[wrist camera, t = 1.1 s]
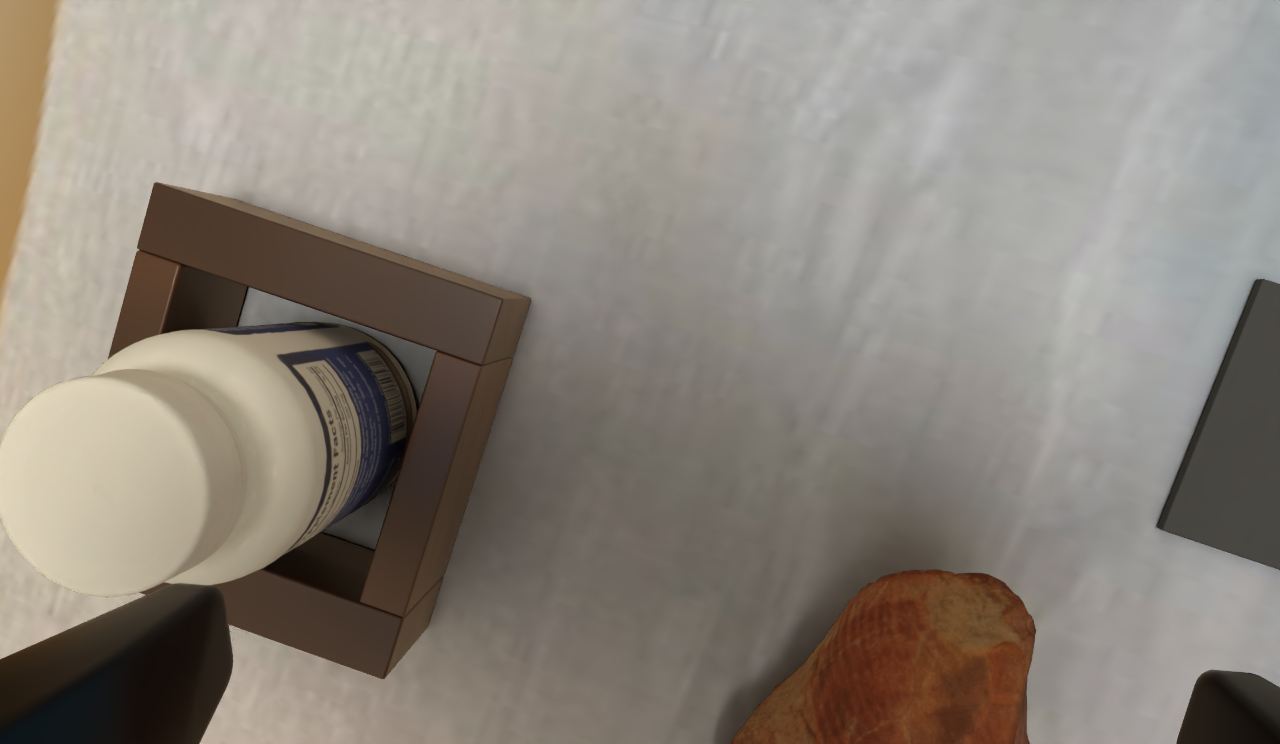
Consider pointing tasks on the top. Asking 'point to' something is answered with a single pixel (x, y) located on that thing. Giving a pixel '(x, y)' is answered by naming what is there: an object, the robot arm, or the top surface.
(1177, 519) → the mat
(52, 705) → the robot arm
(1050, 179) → the top surface
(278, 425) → the pill bottle
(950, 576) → the fossil
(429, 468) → the holder
